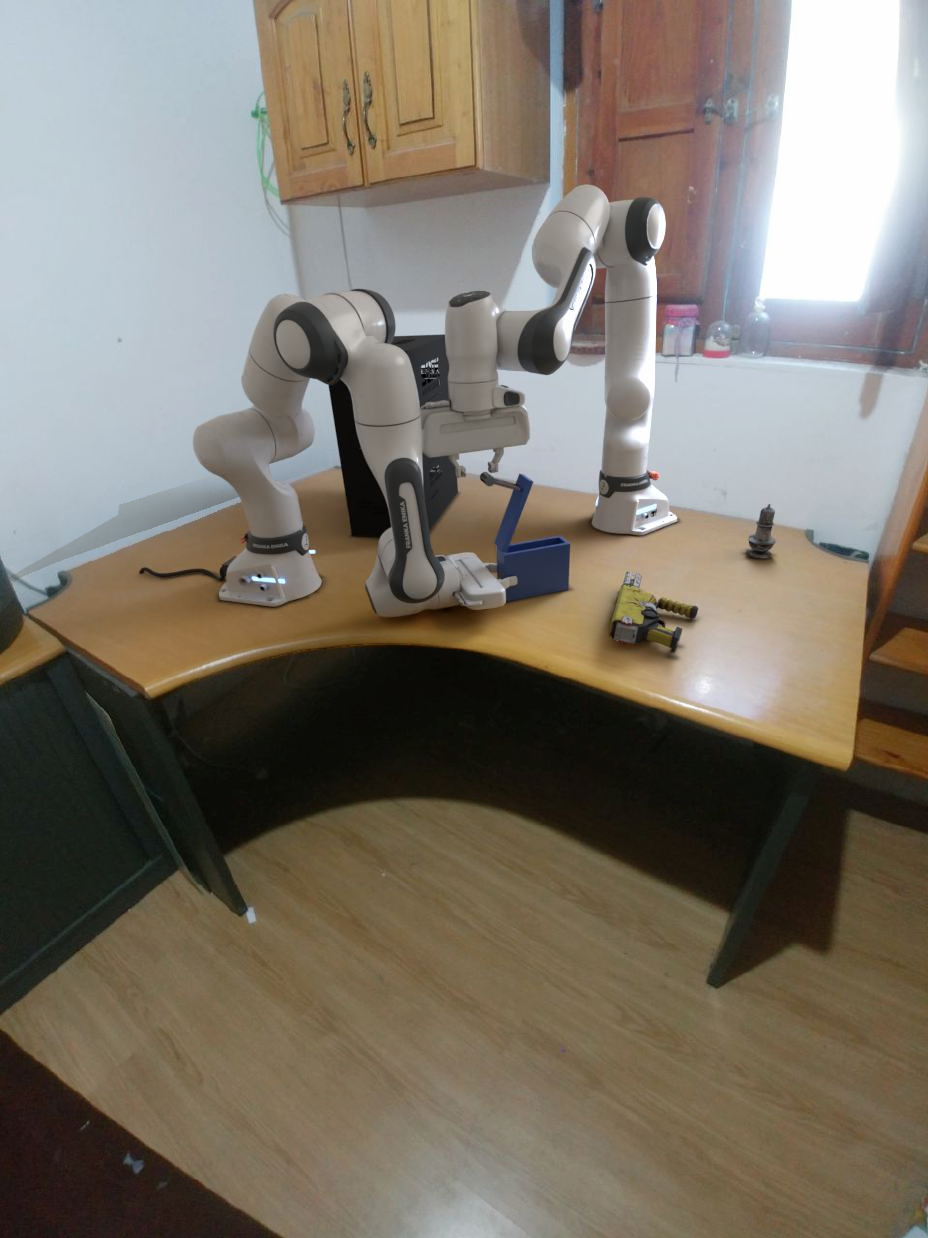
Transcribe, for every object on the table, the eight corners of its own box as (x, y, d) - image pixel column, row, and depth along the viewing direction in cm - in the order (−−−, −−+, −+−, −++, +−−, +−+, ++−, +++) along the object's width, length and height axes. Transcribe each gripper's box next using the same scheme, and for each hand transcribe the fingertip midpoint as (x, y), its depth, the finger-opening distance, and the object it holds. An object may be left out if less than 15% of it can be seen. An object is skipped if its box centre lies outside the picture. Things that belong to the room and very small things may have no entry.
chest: (559, 580, 133) (560, 535, 127) (568, 589, 129) (570, 543, 123) (497, 592, 129) (496, 546, 124) (505, 602, 125) (504, 555, 120)
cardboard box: (424, 538, 157) (407, 351, 135) (351, 535, 162) (323, 353, 139) (457, 492, 189) (448, 334, 166) (396, 490, 193) (379, 336, 171)
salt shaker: (775, 559, 136) (787, 508, 130) (747, 558, 137) (757, 508, 131) (769, 548, 141) (780, 499, 135) (742, 548, 142) (752, 499, 136)
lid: (524, 474, 118) (482, 462, 115) (533, 481, 114) (491, 469, 111) (498, 544, 124) (458, 534, 120) (506, 552, 120) (465, 543, 116)
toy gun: (700, 582, 122) (625, 568, 126) (700, 638, 102) (611, 620, 106) (695, 602, 124) (621, 588, 128) (693, 661, 104) (606, 643, 108)
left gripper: (461, 593, 112) (530, 580, 115) (432, 552, 129) (493, 541, 132) (463, 622, 115) (530, 608, 118) (434, 578, 132) (494, 567, 135)
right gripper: (420, 406, 101) (427, 486, 108) (533, 393, 106) (533, 471, 113) (412, 400, 106) (419, 477, 113) (520, 388, 111) (520, 462, 118)
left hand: (510, 573), depth 125 cm, fingers closed on chest, 5 cm apart
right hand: (477, 474), depth 113 cm, fingers open, 5 cm apart
